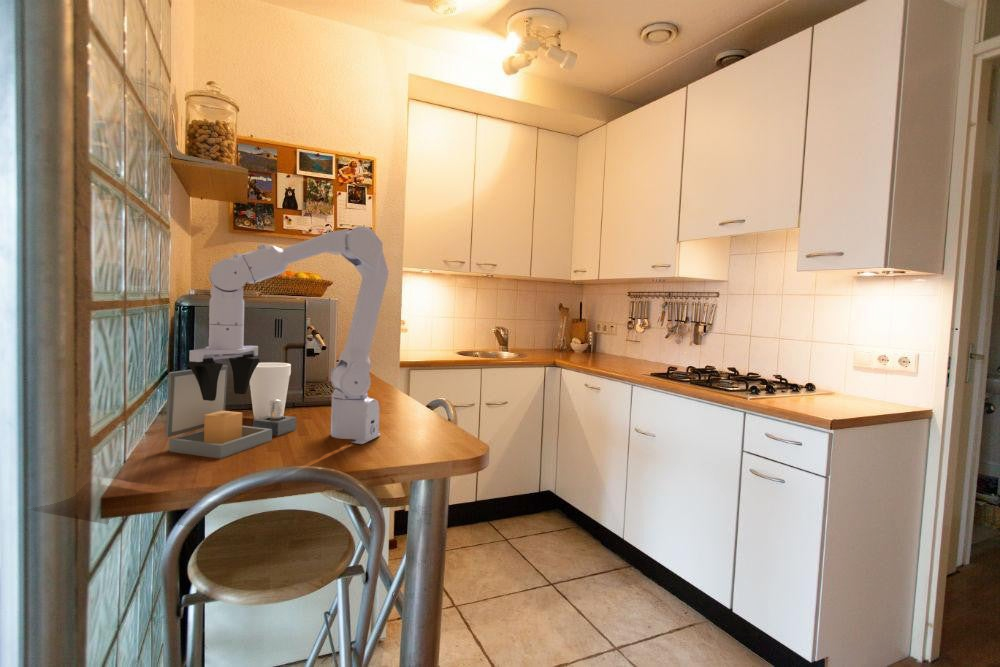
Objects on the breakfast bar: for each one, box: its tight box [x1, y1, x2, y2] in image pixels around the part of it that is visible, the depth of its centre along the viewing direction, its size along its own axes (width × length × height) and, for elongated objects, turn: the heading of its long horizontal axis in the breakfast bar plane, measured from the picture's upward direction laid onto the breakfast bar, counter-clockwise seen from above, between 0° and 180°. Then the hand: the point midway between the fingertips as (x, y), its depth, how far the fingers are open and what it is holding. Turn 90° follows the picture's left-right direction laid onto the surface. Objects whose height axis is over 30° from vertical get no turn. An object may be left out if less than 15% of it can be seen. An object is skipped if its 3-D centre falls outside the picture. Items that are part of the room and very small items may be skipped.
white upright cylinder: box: [269, 399, 282, 421], centre depth 106 cm, size 2×2×7 cm
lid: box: [164, 364, 229, 438], centre depth 95 cm, size 12×13×1 cm
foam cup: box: [249, 362, 292, 420], centre depth 120 cm, size 10×9×13 cm
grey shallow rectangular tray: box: [168, 425, 273, 460], centre depth 94 cm, size 11×13×3 cm
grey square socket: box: [252, 415, 297, 437], centre depth 106 cm, size 6×6×4 cm
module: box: [203, 410, 243, 444], centre depth 94 cm, size 4×4×6 cm
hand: (225, 396), depth 94 cm, fingers open, 7 cm apart
